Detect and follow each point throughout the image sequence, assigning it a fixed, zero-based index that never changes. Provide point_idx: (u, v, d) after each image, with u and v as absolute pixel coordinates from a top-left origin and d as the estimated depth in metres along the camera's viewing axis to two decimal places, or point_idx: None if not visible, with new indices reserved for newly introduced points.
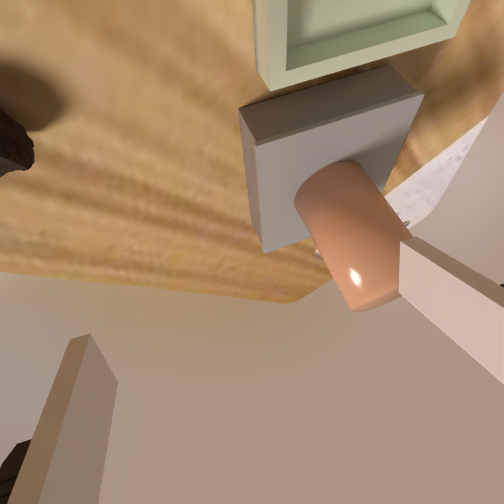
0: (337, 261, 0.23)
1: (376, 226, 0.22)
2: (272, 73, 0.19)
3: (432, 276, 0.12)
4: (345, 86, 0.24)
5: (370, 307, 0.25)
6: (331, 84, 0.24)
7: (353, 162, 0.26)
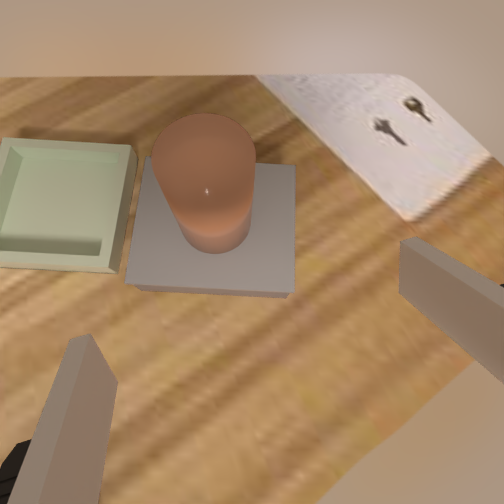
0: (186, 219, 0.22)
1: None
2: (96, 265, 0.30)
3: (432, 276, 0.12)
4: None
5: (242, 173, 0.20)
6: None
7: None
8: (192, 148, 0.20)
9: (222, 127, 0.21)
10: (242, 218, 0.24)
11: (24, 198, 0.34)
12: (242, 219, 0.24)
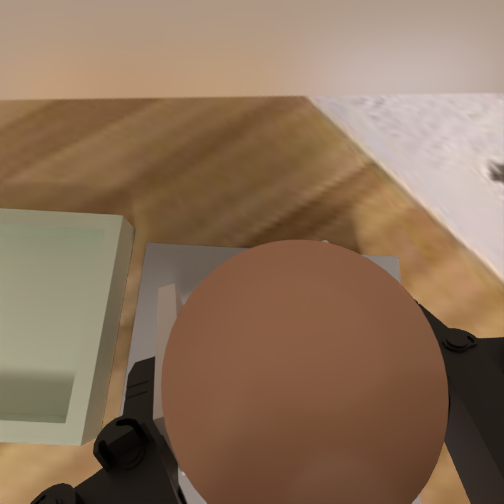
0: None
1: None
2: (60, 441, 0.17)
3: None
4: None
5: (419, 431, 0.07)
6: None
7: None
8: (273, 349, 0.07)
9: (345, 281, 0.08)
10: None
11: None
12: None
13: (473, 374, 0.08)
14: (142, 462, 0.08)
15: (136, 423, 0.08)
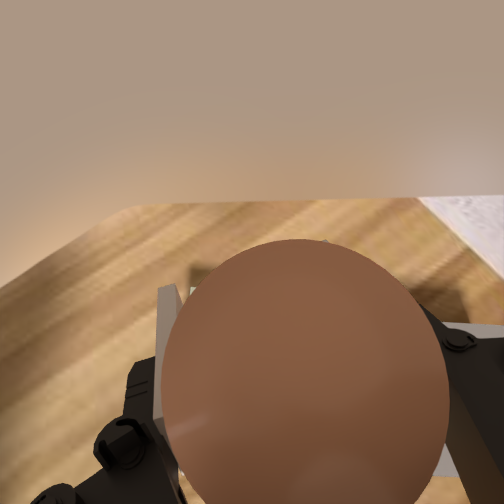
0: None
1: None
2: None
3: None
4: None
5: (420, 432, 0.07)
6: None
7: None
8: (273, 350, 0.07)
9: (346, 281, 0.08)
10: None
11: None
12: None
13: (473, 374, 0.08)
14: (142, 462, 0.08)
15: (136, 423, 0.08)
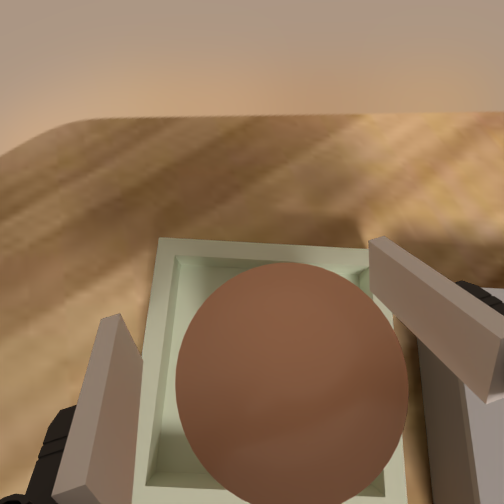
0: None
1: None
2: None
3: (396, 274, 0.13)
4: (429, 373, 0.18)
5: (384, 421, 0.09)
6: (425, 388, 0.19)
7: None
8: (266, 355, 0.09)
9: (326, 298, 0.10)
10: None
11: None
12: None
13: None
14: None
15: None
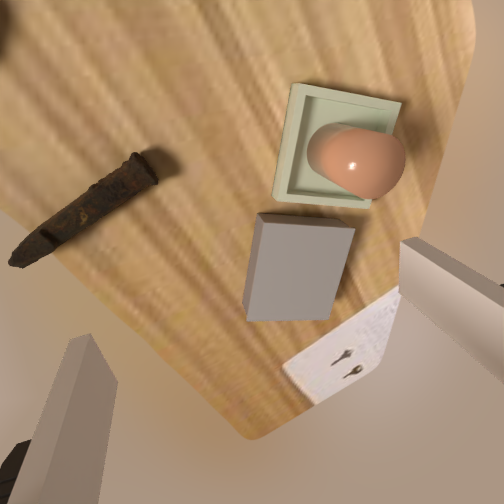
0: (337, 147, 0.34)
1: (364, 129, 0.34)
2: (279, 192, 0.40)
3: (432, 276, 0.12)
4: (315, 219, 0.44)
5: (360, 191, 0.33)
6: (307, 217, 0.45)
7: None
8: (382, 160, 0.32)
9: (392, 179, 0.33)
10: (331, 179, 0.37)
11: (344, 116, 0.40)
12: (330, 179, 0.37)
13: None
14: None
15: None
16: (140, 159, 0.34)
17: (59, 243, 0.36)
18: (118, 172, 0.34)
